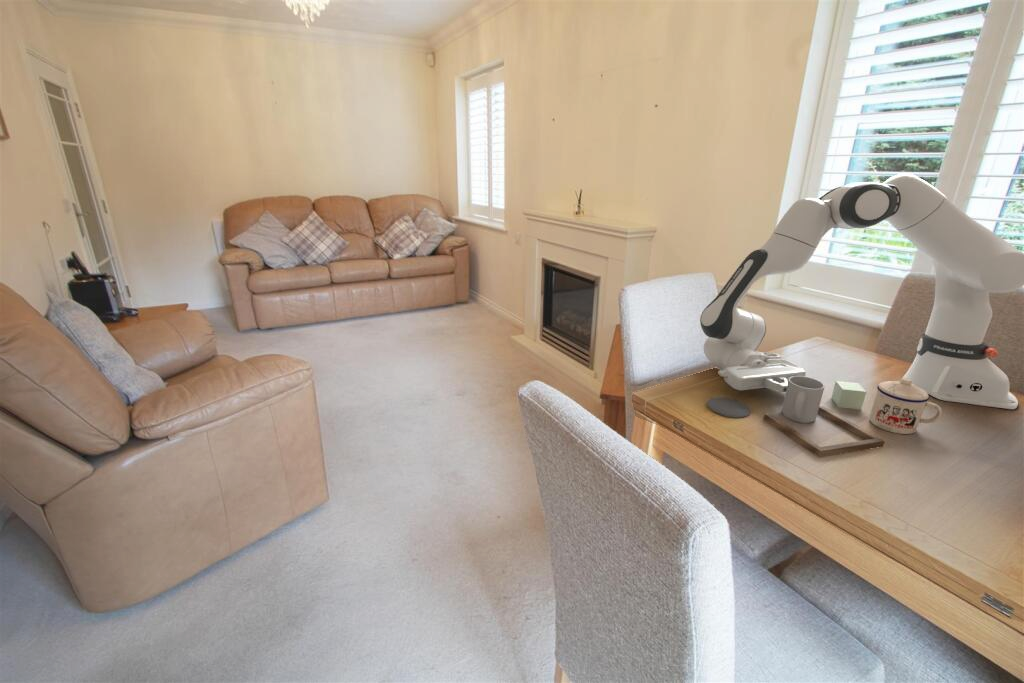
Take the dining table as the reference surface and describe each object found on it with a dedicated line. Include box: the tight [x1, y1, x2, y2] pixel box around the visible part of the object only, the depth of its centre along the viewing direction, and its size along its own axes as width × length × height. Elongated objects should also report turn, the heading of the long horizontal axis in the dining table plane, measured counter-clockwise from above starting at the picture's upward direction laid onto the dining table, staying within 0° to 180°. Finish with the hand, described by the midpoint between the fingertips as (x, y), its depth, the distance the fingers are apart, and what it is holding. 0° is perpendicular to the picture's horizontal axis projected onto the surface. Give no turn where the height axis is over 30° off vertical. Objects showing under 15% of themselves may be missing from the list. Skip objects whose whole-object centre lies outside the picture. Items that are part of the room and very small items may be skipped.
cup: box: [781, 376, 825, 424], centre depth 108 cm, size 7×10×9 cm
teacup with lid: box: [868, 377, 943, 435], centre depth 104 cm, size 12×9×12 cm
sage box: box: [830, 380, 867, 410], centre depth 115 cm, size 5×5×5 cm
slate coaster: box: [706, 396, 752, 419], centre depth 114 cm, size 10×10×1 cm
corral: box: [763, 405, 886, 458], centre depth 103 cm, size 16×16×2 cm
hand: (787, 389), depth 112 cm, fingers closed
